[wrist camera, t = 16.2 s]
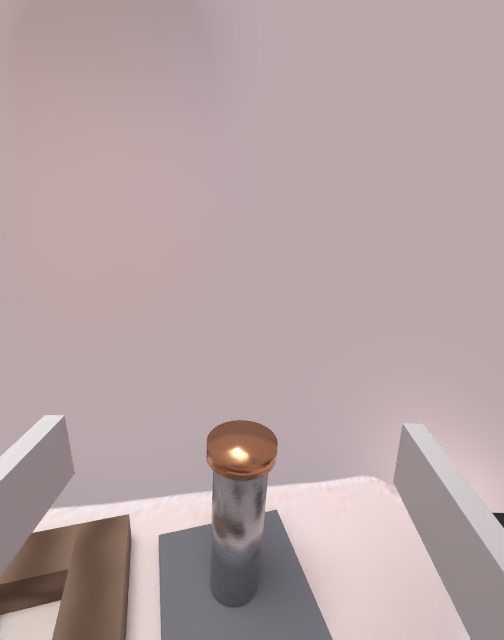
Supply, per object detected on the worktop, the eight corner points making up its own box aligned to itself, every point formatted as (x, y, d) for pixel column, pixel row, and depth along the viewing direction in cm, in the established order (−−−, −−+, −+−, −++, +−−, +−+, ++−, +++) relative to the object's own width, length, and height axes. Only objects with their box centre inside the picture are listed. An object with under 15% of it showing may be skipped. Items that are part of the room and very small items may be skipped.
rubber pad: (276, 514, 42) (276, 509, 42) (331, 646, 29) (332, 640, 29) (159, 540, 38) (158, 535, 38) (163, 705, 25) (163, 698, 25)
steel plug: (254, 546, 37) (264, 417, 33) (273, 604, 32) (288, 458, 27) (199, 559, 35) (201, 424, 31) (209, 622, 30) (213, 469, 25)
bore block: (131, 538, 38) (128, 514, 37) (119, 739, 24) (115, 707, 23) (-39, 575, 34) (-46, 548, 33) (-182, 849, 19) (-204, 815, 18)
